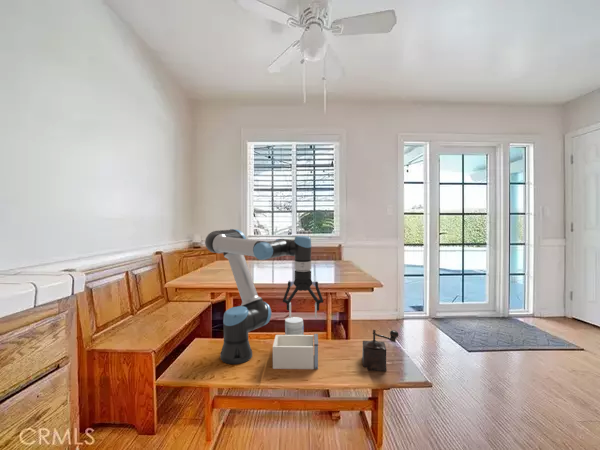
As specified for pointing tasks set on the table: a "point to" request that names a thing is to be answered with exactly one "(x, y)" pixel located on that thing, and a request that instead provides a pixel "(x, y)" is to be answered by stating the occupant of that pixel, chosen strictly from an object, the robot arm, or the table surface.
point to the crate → (293, 352)
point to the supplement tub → (294, 326)
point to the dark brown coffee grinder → (376, 352)
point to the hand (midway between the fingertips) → (303, 317)
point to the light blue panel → (316, 350)
